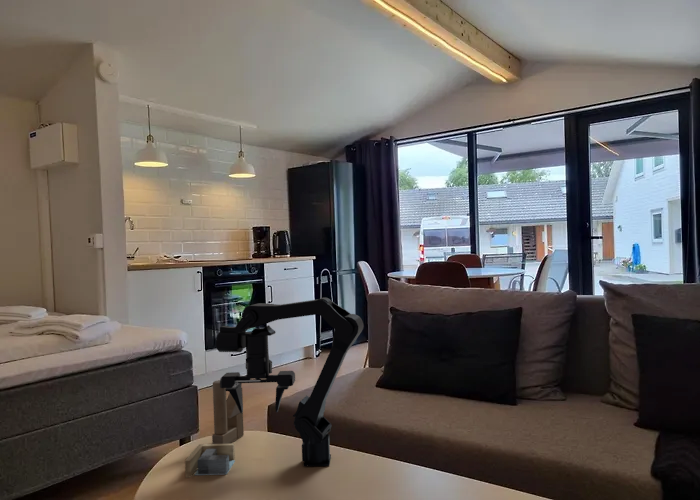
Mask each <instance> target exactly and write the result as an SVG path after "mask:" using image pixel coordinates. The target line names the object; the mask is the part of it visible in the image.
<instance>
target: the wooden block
mask: <svg viewBox="0 0 700 500" xmlns="http://www.w3.org/2000/svg"><path fill="white" fill-rule="evenodd" d="M225 389H226V388H220V379H219V380H214V381H213V382H212V401H213V402H212V404H213V405H212V406H213V430H214V433H212V435H211V438H212V439H211V440H212V441H211V442H212V443H211V444H233V443H234V442H235V441H237V440H238V439H241V438H242V437H243V436H244V435H245V434H244V412H243V413H240V411H239V409H238V407H237V404H236V402H235V400H234V399H233V397H232V396H231V394H230V392H229V393H228V396H227V391H225ZM241 394H242V402H243V403H244V397H243V387H241Z"/></svg>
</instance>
